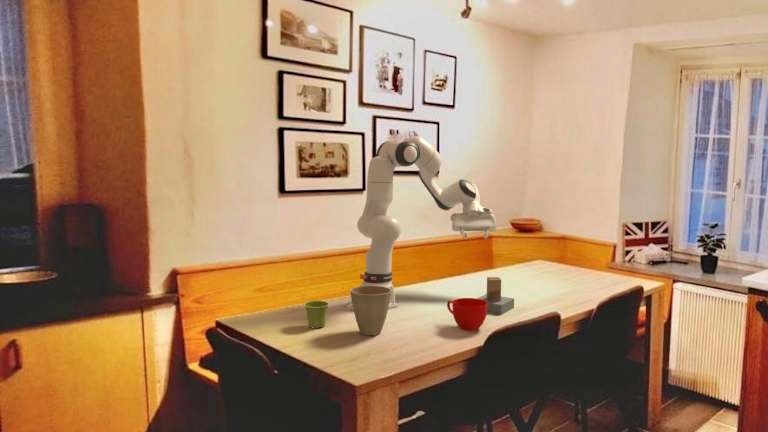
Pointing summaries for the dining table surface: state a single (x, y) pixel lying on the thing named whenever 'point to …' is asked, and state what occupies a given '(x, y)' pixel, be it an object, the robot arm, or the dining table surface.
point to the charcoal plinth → (498, 305)
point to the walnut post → (493, 289)
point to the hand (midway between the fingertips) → (475, 237)
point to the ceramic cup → (468, 312)
